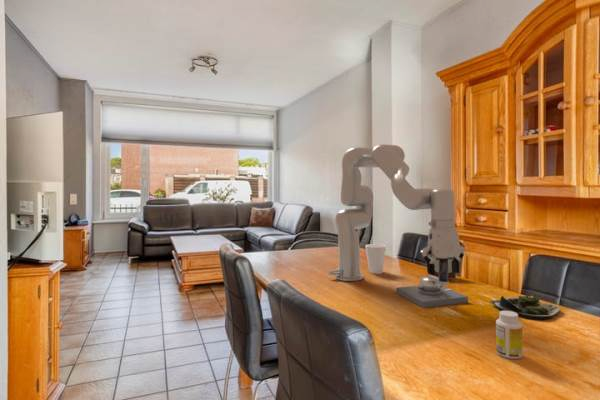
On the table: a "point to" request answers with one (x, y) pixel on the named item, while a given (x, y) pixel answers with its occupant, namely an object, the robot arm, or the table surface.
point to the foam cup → (375, 257)
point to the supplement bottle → (509, 335)
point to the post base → (431, 296)
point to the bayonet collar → (436, 278)
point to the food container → (450, 273)
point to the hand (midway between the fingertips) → (443, 273)
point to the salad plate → (527, 307)
